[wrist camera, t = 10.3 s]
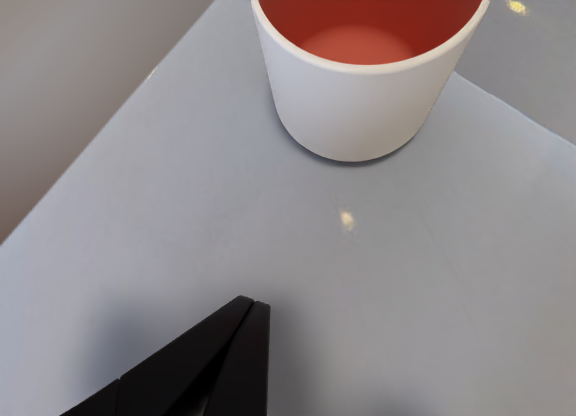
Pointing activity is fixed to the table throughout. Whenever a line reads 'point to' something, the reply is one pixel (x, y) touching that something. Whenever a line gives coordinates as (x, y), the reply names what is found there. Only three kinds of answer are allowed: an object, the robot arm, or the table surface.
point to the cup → (360, 67)
